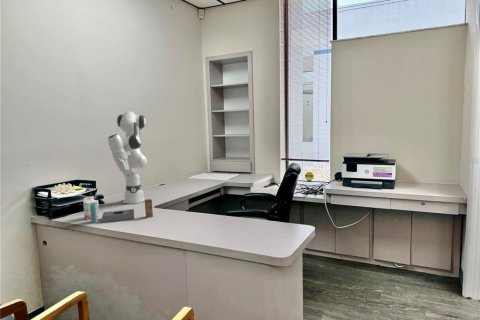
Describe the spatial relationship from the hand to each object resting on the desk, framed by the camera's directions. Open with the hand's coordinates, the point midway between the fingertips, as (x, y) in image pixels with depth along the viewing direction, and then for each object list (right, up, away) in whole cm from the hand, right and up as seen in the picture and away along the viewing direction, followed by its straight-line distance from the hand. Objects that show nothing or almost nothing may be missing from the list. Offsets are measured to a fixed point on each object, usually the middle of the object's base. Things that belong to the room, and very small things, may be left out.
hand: (127, 177), depth 222 cm
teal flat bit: (-21, -30, -3) cm, 37 cm away
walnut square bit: (+13, -28, +5) cm, 31 cm away
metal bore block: (-7, -28, +3) cm, 29 cm away
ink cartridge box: (-27, -29, +7) cm, 40 cm away
